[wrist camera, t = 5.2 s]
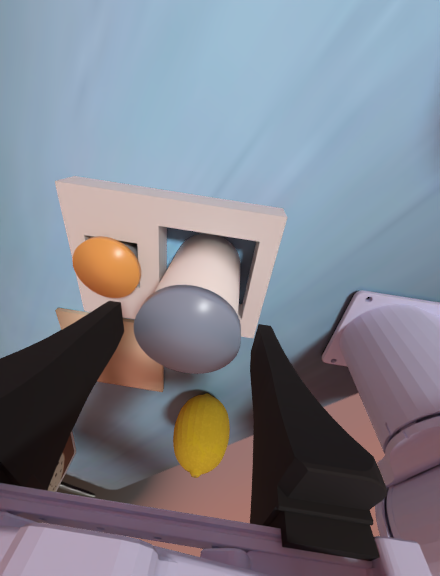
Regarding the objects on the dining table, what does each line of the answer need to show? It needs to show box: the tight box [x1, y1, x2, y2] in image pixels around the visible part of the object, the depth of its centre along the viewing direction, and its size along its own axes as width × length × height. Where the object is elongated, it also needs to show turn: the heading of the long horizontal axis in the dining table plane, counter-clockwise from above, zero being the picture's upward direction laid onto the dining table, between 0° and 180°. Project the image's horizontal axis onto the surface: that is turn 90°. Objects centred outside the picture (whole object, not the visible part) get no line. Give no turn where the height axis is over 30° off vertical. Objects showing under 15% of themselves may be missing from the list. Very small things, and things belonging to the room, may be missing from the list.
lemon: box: [173, 393, 230, 478], centre depth 25 cm, size 6×6×8 cm
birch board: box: [55, 308, 164, 392], centre depth 25 cm, size 10×10×1 cm
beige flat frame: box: [55, 176, 287, 338], centre depth 18 cm, size 14×10×2 cm
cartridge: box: [134, 233, 241, 374], centre depth 16 cm, size 5×5×8 cm
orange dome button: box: [73, 236, 141, 298], centre depth 18 cm, size 4×4×3 cm
